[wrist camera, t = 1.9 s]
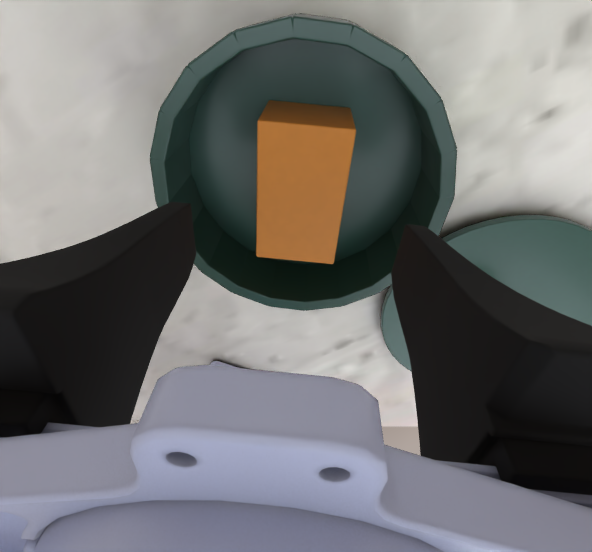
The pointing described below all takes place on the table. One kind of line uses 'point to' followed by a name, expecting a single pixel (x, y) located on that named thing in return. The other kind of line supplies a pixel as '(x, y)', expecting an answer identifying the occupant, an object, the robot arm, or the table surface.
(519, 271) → the tin lid
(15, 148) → the table surface
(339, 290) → the tin
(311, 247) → the soap
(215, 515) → the robot arm
